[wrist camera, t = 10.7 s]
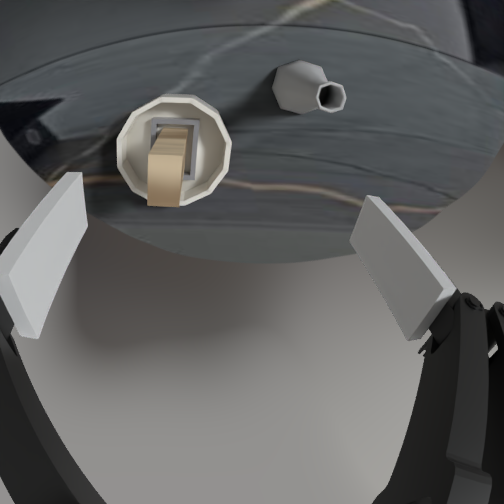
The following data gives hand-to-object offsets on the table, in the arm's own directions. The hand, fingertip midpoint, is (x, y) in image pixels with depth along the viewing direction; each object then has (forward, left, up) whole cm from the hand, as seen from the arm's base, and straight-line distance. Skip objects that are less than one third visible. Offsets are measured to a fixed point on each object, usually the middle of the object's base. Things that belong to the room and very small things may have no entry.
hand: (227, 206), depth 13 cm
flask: (-5, +10, -26) cm, 28 cm away
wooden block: (+5, -4, -25) cm, 25 cm away
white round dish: (+5, -4, -25) cm, 26 cm away
